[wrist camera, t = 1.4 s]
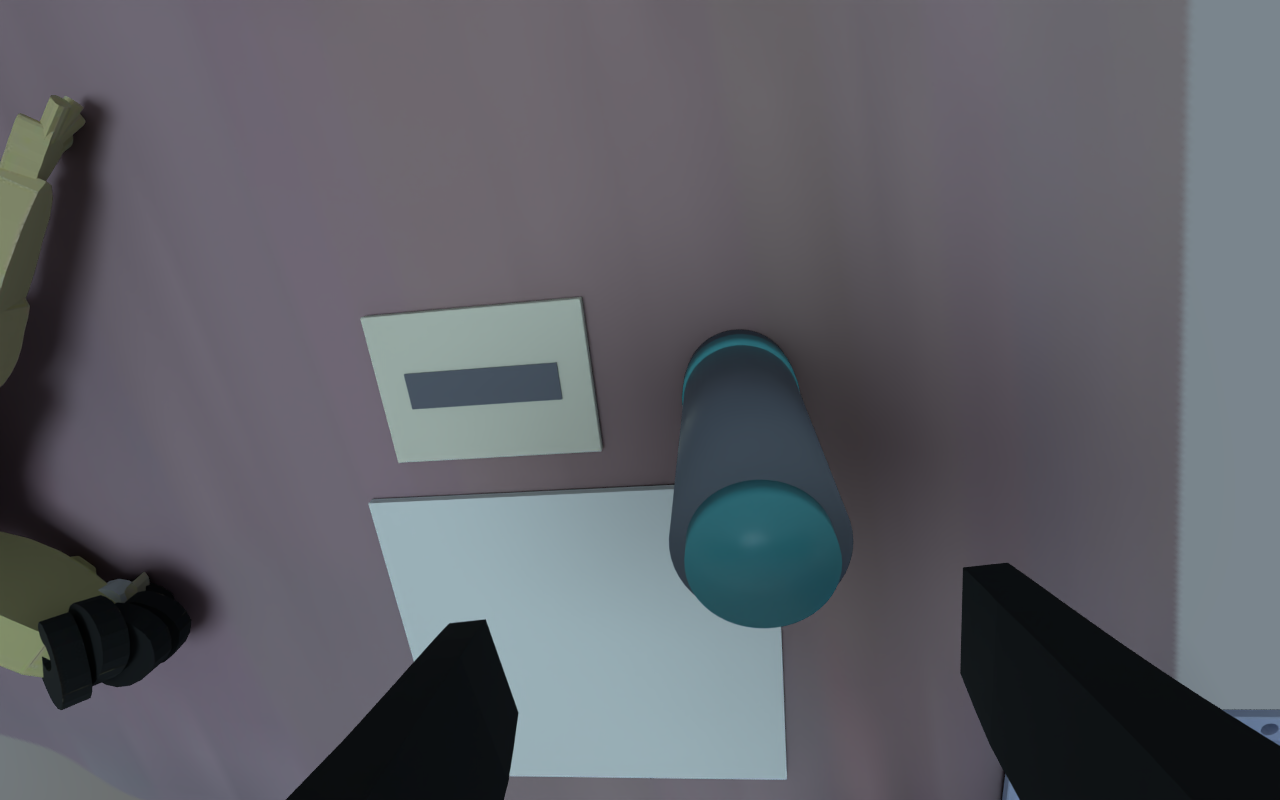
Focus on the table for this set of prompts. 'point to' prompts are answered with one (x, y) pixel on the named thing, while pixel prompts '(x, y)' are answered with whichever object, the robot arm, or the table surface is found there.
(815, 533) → the marker
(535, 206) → the table surface
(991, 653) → the robot arm
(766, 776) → the paper
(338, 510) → the table surface
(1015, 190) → the table surface
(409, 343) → the plate
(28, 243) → the toy
